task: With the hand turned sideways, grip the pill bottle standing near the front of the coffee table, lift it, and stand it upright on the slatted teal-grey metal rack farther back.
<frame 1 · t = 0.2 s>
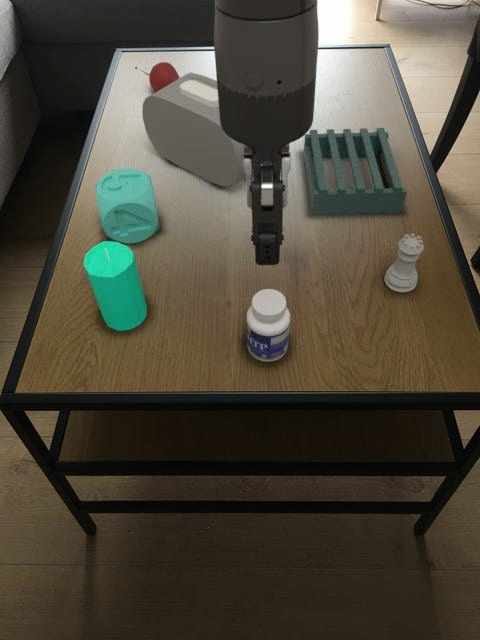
hand: (267, 231, 53), 20 cm above the table, tool pointing down, fingers open, 8 cm apart
rack: (349, 181, 89), on the table
rook chess piece: (399, 283, 75), on the table
decorative dice: (133, 227, 84), on the table
alarm clock: (210, 163, 94), on the table
pill bottle: (267, 346, 69), on the table
candle: (125, 314, 73), on the table
fruit: (160, 91, 109), on the table
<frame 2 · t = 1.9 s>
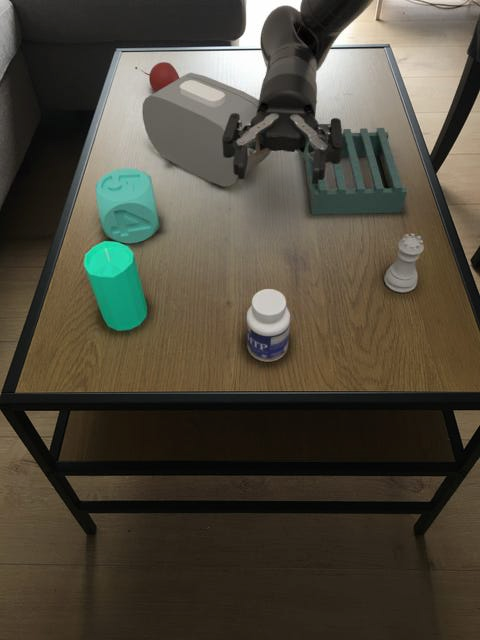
hand: (278, 175, 61), 18 cm above the table, tool horizontal, fingers open, 8 cm apart
nothing on the table moved.
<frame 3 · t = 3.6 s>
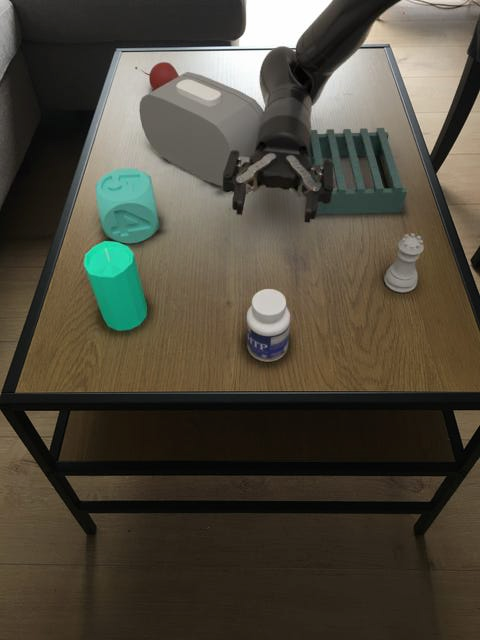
hand: (273, 213, 67), 12 cm above the table, tool horizontal, fingers open, 8 cm apart
alarm clock: (207, 162, 94), on the table, touching arm
everything else where it was.
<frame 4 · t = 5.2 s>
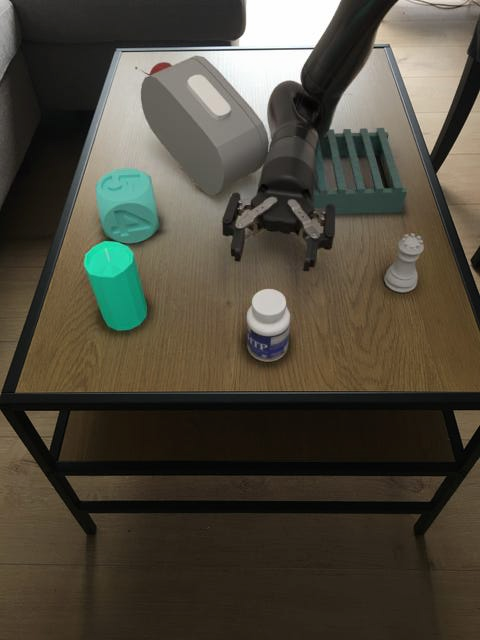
hand: (271, 261, 65), 9 cm above the table, tool horizontal, fingers open, 8 cm apart
alarm clock: (197, 152, 91), point 3 cm above the table, touching arm
everything else where it was.
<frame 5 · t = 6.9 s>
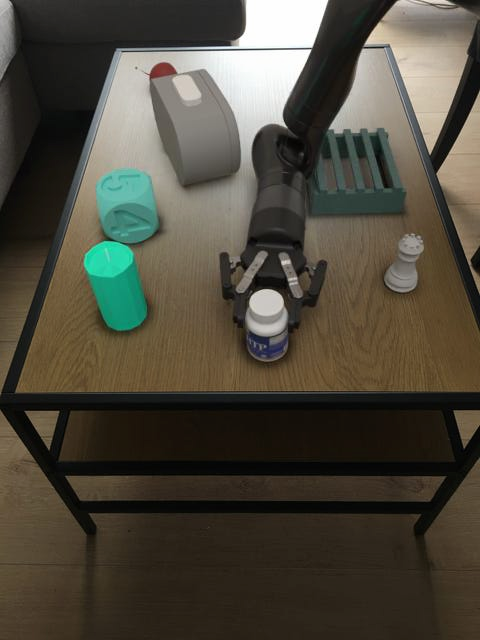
hand: (265, 326, 62), 7 cm above the table, tool horizontal, fingers closed on pill bottle, 5 cm apart
alarm clock: (197, 160, 94), on the table
pill bottle: (267, 346, 69), on the table, touching gripper
everything else where it was.
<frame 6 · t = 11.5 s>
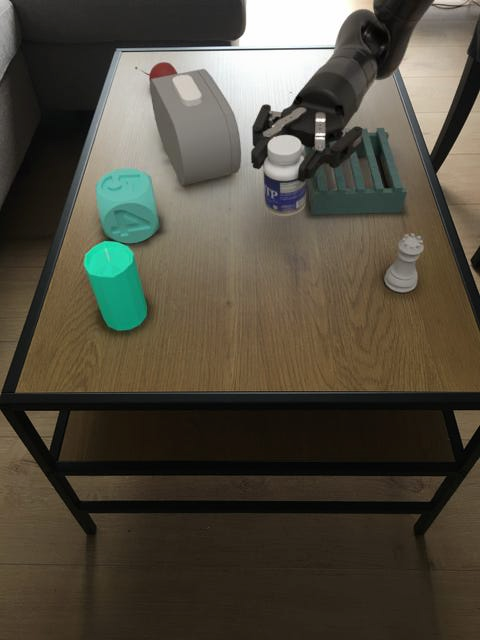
hand: (278, 168, 63), 18 cm above the table, tool horizontal, fingers closed on pill bottle, 5 cm apart
pill bottle: (285, 205, 70), point 11 cm above the table, touching gripper
everything else where it was.
when the fingers open (12 cm above the table, at t = 16.3 s): pill bottle stays where it is, resting on rack.
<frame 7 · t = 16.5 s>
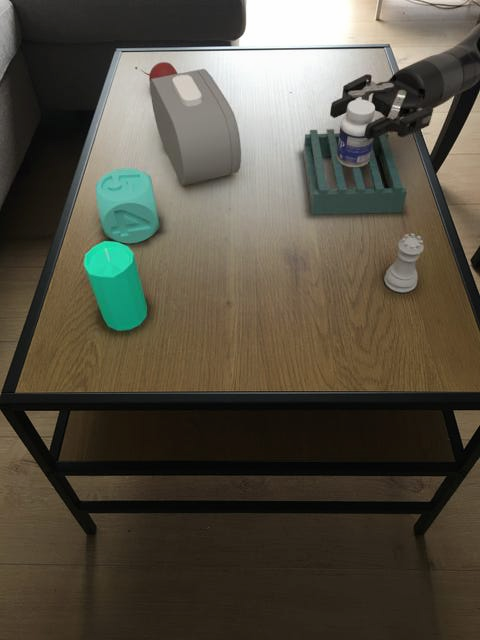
hand: (349, 121, 79), 12 cm above the table, tool horizontal, fingers open, 6 cm apart
pill bottle: (352, 159, 85), point 5 cm above the table, touching rack
everything else where it was.
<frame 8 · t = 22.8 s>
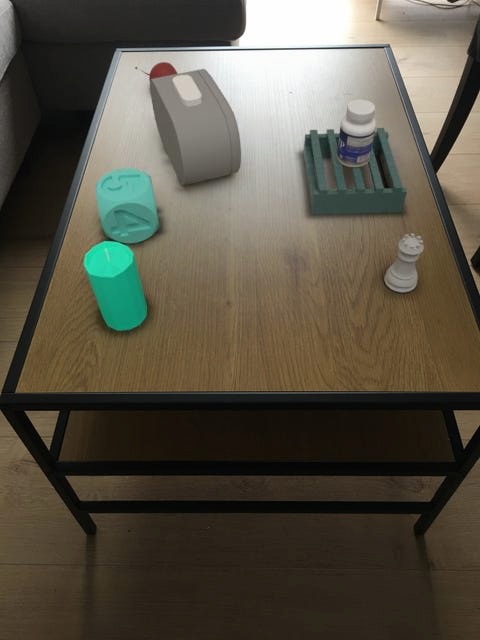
nothing on the table moved.
at the end: pill bottle inside the target area on the rack (0.4 cm from its centre), point 4.6 cm above the rack's base; pill bottle tilted 0°; the gripper is holding nothing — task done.
